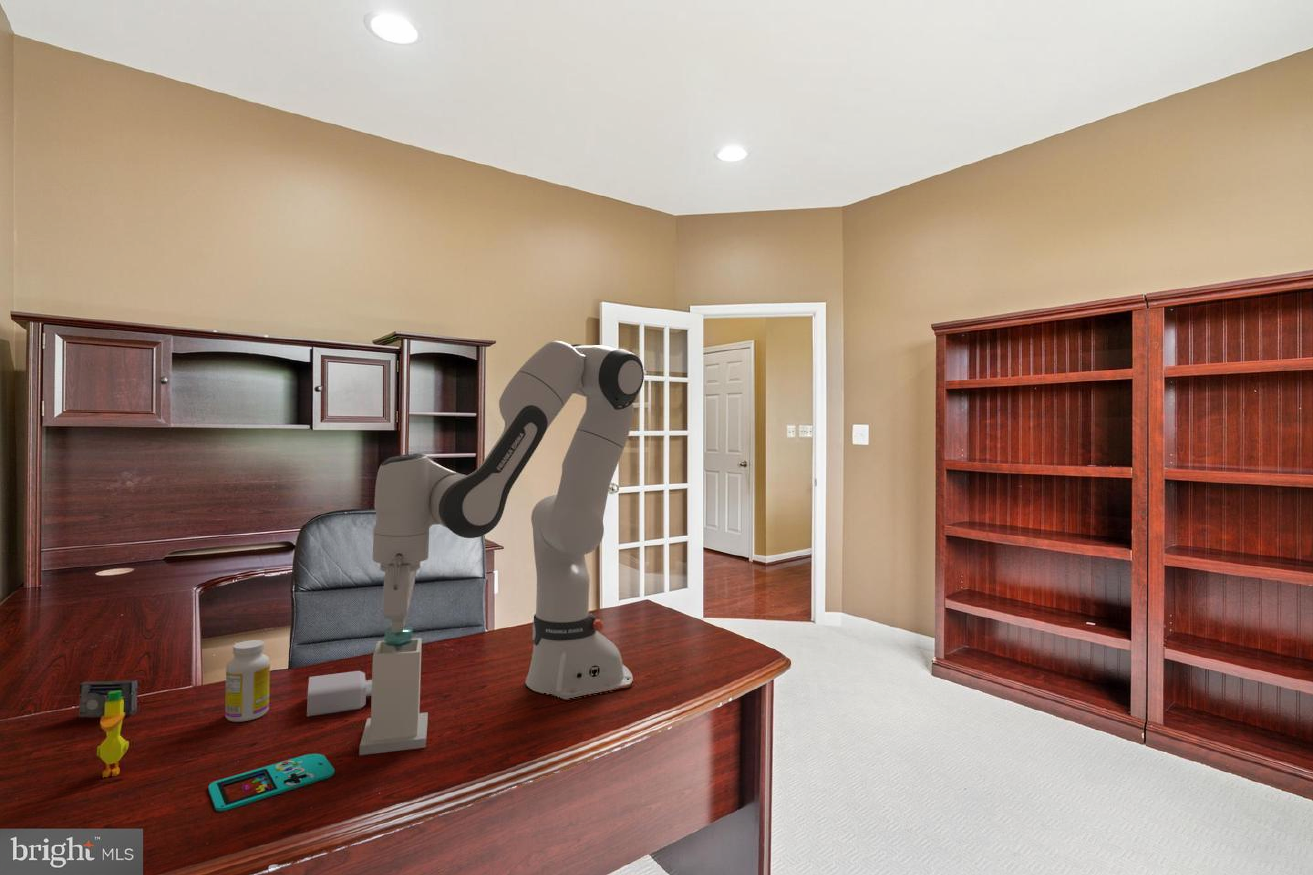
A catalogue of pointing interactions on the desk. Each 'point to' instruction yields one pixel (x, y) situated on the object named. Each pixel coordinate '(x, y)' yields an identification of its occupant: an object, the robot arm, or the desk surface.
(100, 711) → the mini dv tape
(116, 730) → the toy figure
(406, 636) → the plunger
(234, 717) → the supplement bottle
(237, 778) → the handheld gaming console
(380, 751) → the press housing
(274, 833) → the desk surface
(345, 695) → the charger
